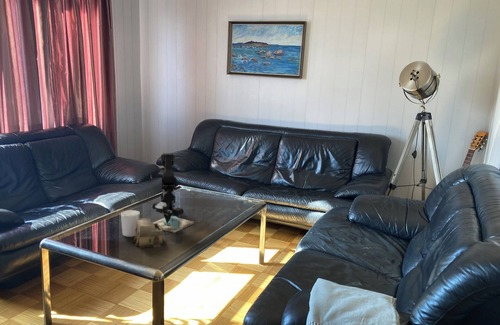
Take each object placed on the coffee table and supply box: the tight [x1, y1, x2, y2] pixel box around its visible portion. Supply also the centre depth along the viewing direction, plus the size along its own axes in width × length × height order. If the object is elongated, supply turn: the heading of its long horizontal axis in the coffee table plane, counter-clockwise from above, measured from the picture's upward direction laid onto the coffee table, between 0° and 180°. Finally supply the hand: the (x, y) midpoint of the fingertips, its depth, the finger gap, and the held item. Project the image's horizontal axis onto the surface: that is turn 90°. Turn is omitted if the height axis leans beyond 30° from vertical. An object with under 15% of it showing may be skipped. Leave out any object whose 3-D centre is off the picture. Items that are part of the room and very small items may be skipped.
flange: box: [163, 215, 181, 229], centre depth 232 cm, size 16×10×5 cm, turn 21°
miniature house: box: [133, 217, 166, 249], centre depth 208 cm, size 15×14×11 cm
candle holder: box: [120, 209, 141, 238], centre depth 218 cm, size 10×10×12 cm
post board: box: [152, 217, 195, 234], centre depth 235 cm, size 18×18×5 cm
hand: (167, 222), depth 228 cm, fingers closed
